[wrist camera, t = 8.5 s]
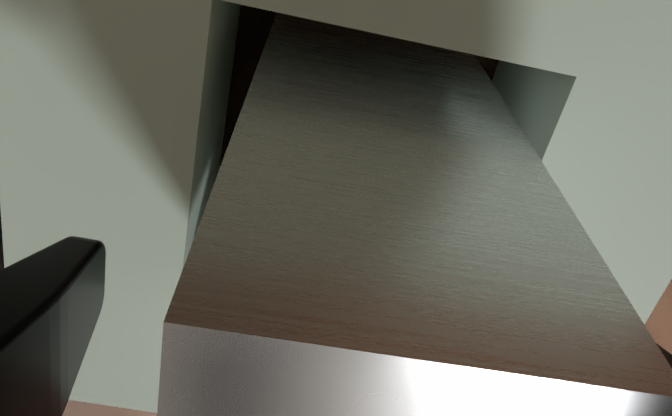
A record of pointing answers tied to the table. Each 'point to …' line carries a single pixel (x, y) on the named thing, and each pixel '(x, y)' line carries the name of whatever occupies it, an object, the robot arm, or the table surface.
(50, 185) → the dock
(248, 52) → the table surface
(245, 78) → the table surface
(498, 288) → the pin
